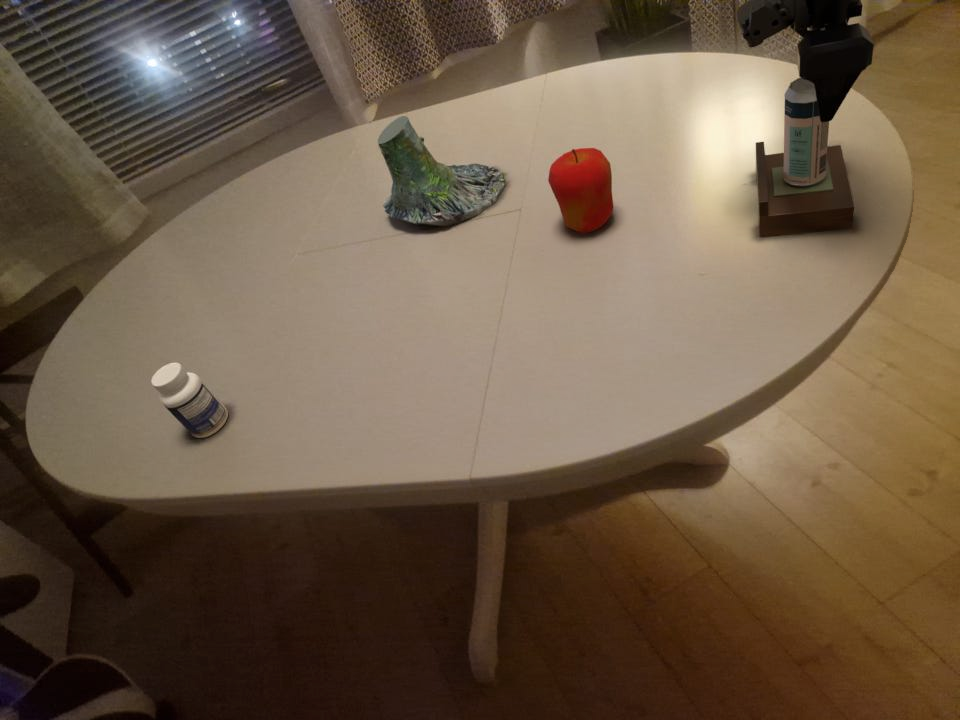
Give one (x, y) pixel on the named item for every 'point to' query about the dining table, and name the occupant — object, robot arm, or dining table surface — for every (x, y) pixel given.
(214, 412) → the pill bottle
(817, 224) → the brown rectangular block
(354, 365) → the dining table surface
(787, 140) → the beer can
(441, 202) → the tree stump
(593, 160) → the apple
